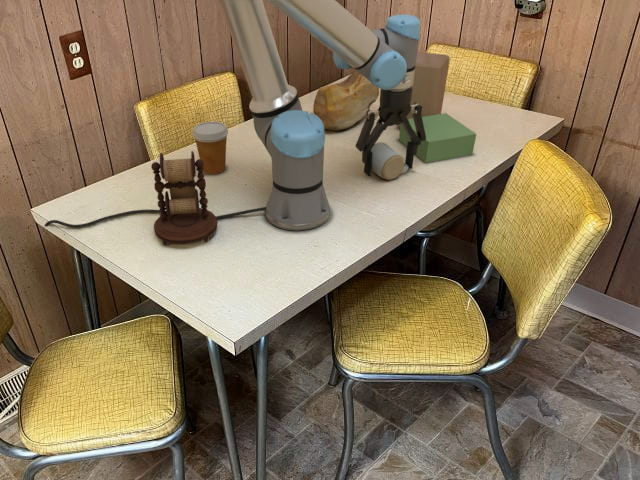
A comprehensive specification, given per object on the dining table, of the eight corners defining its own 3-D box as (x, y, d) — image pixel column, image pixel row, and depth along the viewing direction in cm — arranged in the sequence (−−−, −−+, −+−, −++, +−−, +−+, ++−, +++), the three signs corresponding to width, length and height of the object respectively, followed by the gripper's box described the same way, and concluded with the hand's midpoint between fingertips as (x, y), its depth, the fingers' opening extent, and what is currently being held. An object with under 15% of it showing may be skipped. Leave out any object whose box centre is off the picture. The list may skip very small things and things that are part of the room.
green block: (425, 163, 158) (428, 141, 155) (398, 140, 171) (401, 120, 167) (472, 154, 161) (476, 133, 157) (442, 132, 173) (445, 112, 169)
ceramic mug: (381, 184, 150) (384, 156, 145) (362, 172, 156) (365, 144, 151) (414, 175, 153) (419, 147, 149) (395, 163, 159) (399, 136, 155)
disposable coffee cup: (238, 167, 163) (235, 126, 155) (213, 180, 158) (209, 138, 150) (213, 158, 168) (210, 118, 161) (189, 171, 163) (184, 129, 155)
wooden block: (440, 122, 178) (451, 54, 166) (429, 135, 172) (440, 64, 160) (408, 117, 183) (416, 50, 170) (396, 129, 177) (404, 60, 164)
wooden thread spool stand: (218, 214, 143) (210, 136, 131) (217, 247, 132) (209, 166, 119) (158, 218, 144) (145, 141, 131) (152, 252, 132) (137, 170, 120)
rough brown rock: (347, 105, 196) (345, 58, 187) (385, 114, 185) (386, 64, 176) (295, 127, 186) (291, 79, 177) (333, 138, 175) (331, 87, 166)
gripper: (357, 98, 136) (351, 184, 150) (449, 84, 140) (435, 169, 153) (344, 88, 142) (340, 171, 155) (433, 75, 145) (421, 157, 159)
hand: (387, 170), depth 154 cm, fingers closed on ceramic mug, 11 cm apart
